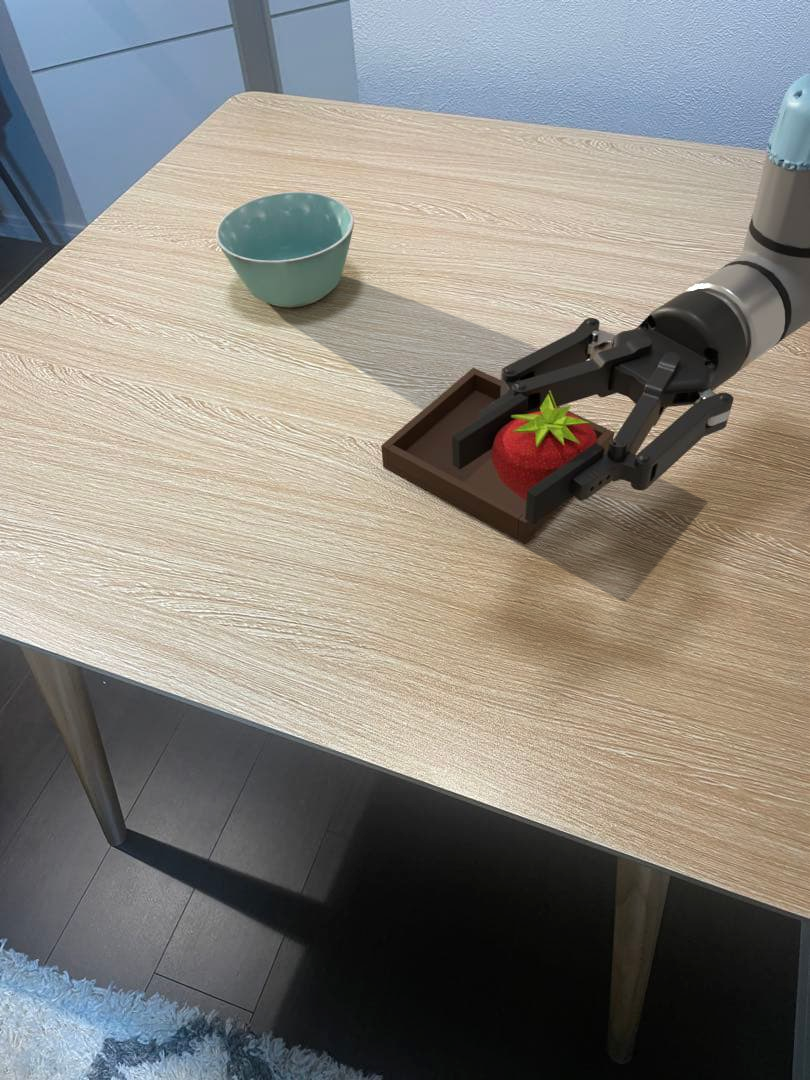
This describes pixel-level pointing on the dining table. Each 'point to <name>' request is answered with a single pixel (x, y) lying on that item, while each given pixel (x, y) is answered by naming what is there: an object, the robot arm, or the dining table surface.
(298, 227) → the bowl
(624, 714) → the dining table surface
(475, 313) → the dining table surface
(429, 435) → the tray
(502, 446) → the strawberry
